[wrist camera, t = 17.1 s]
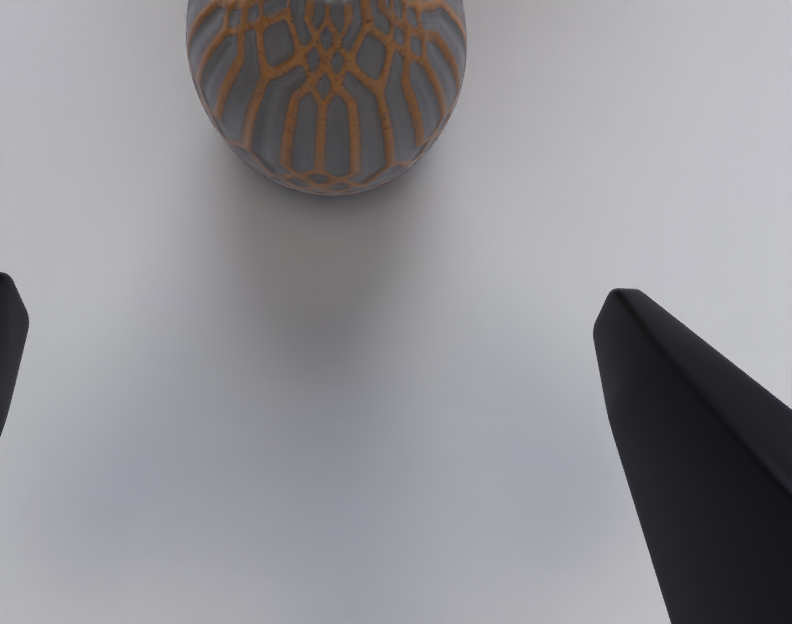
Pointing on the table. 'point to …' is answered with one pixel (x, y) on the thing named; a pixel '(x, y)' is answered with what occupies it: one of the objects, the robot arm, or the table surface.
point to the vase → (328, 84)
